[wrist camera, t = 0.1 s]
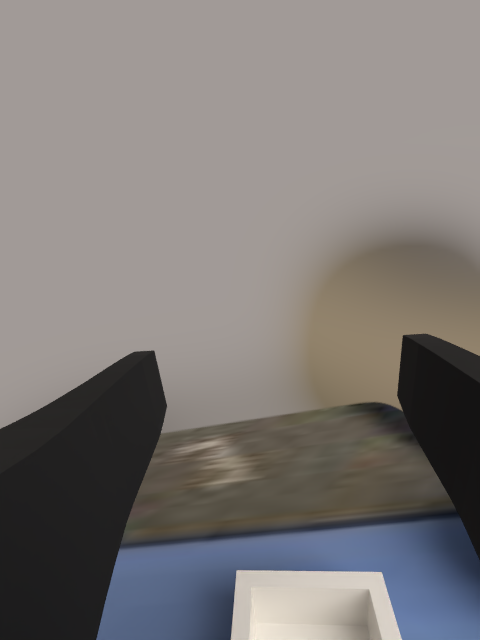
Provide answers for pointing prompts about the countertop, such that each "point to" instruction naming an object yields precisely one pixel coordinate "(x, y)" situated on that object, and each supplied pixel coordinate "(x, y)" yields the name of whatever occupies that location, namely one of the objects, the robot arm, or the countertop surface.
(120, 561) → the countertop surface
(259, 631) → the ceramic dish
